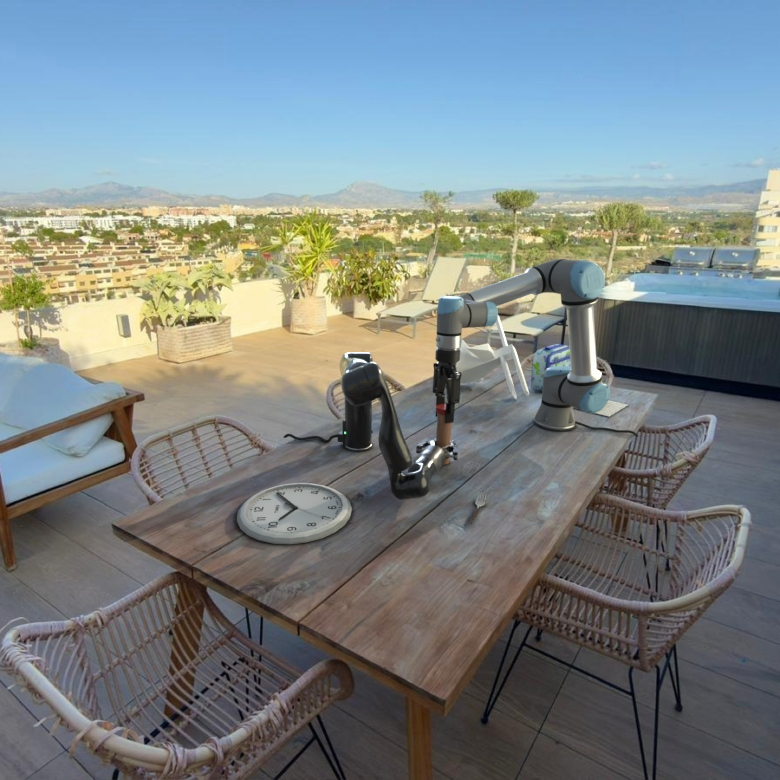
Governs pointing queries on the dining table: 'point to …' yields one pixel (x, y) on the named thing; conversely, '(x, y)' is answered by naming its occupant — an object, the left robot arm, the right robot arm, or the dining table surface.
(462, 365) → the white plastic object
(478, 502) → the fork
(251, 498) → the wall clock
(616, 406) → the invitation card
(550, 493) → the dining table surface
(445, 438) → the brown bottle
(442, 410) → the lid
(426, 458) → the left robot arm
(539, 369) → the lunch box
